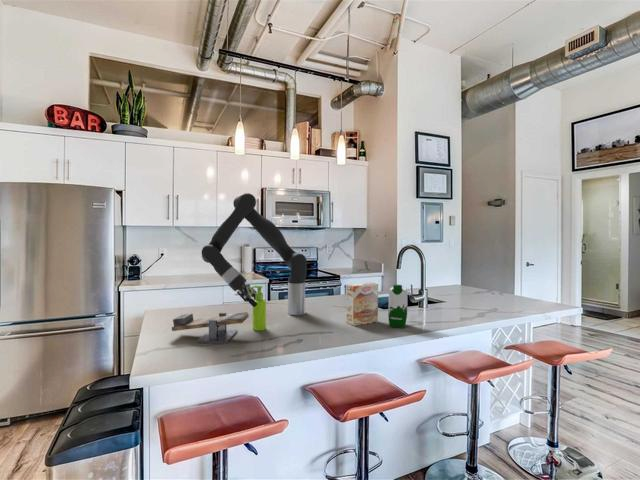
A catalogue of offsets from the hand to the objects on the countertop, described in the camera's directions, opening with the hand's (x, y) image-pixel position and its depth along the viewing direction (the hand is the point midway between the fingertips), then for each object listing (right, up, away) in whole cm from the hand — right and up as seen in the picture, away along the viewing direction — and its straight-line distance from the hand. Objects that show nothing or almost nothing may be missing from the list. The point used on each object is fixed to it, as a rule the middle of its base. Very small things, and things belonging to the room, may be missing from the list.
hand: (258, 303), depth 161 cm
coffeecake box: (+50, -12, +12) cm, 53 cm away
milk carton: (+66, -12, +7) cm, 68 cm away
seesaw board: (-18, -6, -13) cm, 23 cm away
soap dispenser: (0, -12, 0) cm, 12 cm away
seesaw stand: (-15, -12, -13) cm, 23 cm away
